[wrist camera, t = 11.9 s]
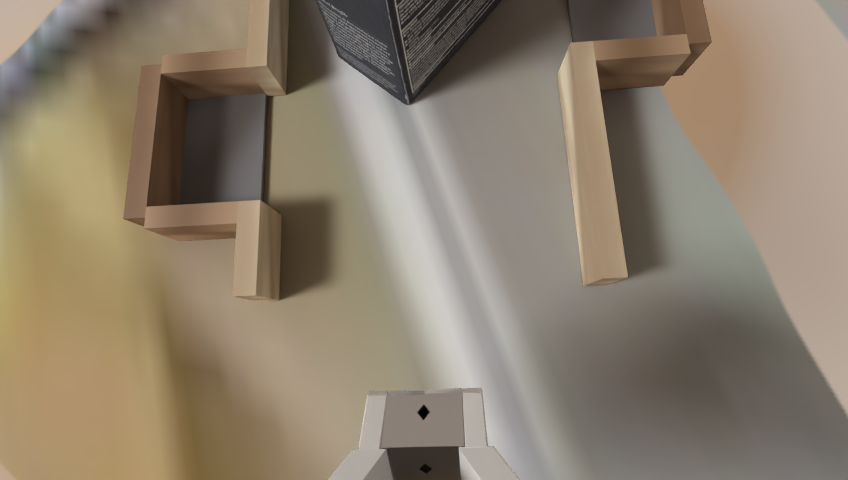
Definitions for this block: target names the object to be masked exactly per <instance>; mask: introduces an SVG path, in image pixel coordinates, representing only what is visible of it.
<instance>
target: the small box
mask: <svg viewBox="0 0 848 480" xmlns="http://www.w3.org/2000/svg"><path fill="white" fill-rule="evenodd" d="M500 1H501V0H316V2H317V4H318V7H319V10H320V12H321V14H322V17H323V19H324V21H325V24H326V26H327V29H328V31H329V34H330V36H331V38H332V41H333V43H334V46H335V48H336V51H337V54H338V56H339V57H340V58H341V59H343V60H344V61H345V62H347V63H348V64H349V65H351V66H352V67H353V68H355V69H356V70H358V71H359V72H360V73H362V74H363V75H365V76H366V77H367V78H369V79H370V80H372V81H373V82H374V83H376V84H377V85H379V86H380V87H382V88H383V89H384V90H386V91H387V92H389V93H390V94H391V95H393V96H394V97H395V98H397V99H398V100H400V101H401V102H402V103H404V104H406V105H409V104H411V103H412V101H413V100H414V99H415V98H416V97H417V96H418V95H419V93H420V92H421V91H422V90H423V89H424V88H425V87H426V86H427V84H428V83H429V82H430V81H431V80H432V79H433V78H434V76H435V75H436V74H437V73H438V72H439V71H440V70H441V68H442V67H443V66H444V65H445V64H446V63H447V62H448V61H449V59H450V58H451V57H452V56H453V55H454V54H455V52H456V51H457V50H458V49H459V48H460V47H461V46H462V45H463V43H464V42H465V41H466V40H467V39H468V38H469V36H470V35H471V34H472V33H473V32H474V31H475V30H476V28H477V27H478V26H479V25H480V24H481V23H482V22H483V21H484V19H485V18H486V17H487V16H488V15H489V14H490V13H491V11H492V10H493V9H494V8H495V7H496V6H497V4H498V3H499V2H500Z"/></svg>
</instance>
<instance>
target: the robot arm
mask: <svg viewBox="0 0 848 480" xmlns="http://www.w3.org/2000/svg"><path fill="white" fill-rule="evenodd" d="M462 399H463V400H462ZM463 416H464V417H463ZM328 480H519V478H518V477H517V476H516V475H515V473H514V472H513V471H512V469H511V468H510V467H509V466H508V464H507V463H506V462H505V460H504V459H503V458H502V457H501V455H500V454H499V453H498V451H497V450H496V449H495V448H494V446H488V443H487V433H486V423H485V413H484V403H483V394H482V389H481V388H467V389H462V388H454V389H433V390H425V391H370V392H369V394H368V396H367V401H366V407H365V412H364V418H363V424H362V430H361V436H360V442H359V448H358V449H354V450H352V451H351V452H350V453H349V455H348V456H347V457H346V458H345V459H344V461H343V462H342V463H341V464H340V466H339V467H338V468H337V469H336V470H335V472H334V473H333V474H332V475H331V476H330V478H329V479H328Z"/></svg>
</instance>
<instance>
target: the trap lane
mask: <svg viewBox="0 0 848 480" xmlns="http://www.w3.org/2000/svg"><path fill="white" fill-rule="evenodd" d="M567 5H568V12H569V19H570V27H571V34H572V41H573V43H570V45H569V47H568V50H567V52H566V55H565V57H564V60H563V62H562V65H561V67H560V70H559V72H558V75H557V78H558V86H559V94H560V102H561V110H562V118H563V126H564V134H565V142H566V150H567V158H568V166H569V173H570V181H571V189H572V197H573V205H574V213H575V221H576V229H577V237H578V245H579V253H580V261H581V269H582V277H583V285H584V286H593V285H607V284H610V283H613V282H616V281H619V280H621V279H624V278H627V277H628V274H627V267H626V261H625V254H624V247H623V241H622V234H621V227H620V221H619V214H618V207H617V201H616V194H615V187H614V180H613V174H612V167H611V160H610V154H609V147H608V140H607V134H606V127H605V120H604V114H603V107H602V100H601V93H600V90H607V89H621V88H635V87H650V86H664V85H665V83H666V82H667V81H668V80H669V79H670V77H671V76H679V75H683V74H684V73H685V72H686V70H687V69H688V68H689V67H690V66H691V65H692V64H693V63H694V61H695V60H696V59H697V58H698V57H699V56H700V55H701V53H702V52H703V51H704V50H705V49H706V48H707V47H708V46H709V44H710V43H711V37H710V32H709V28H708V23H707V19H706V14H705V10H704V5H703V0H567ZM288 27H289V0H250V5H249V22H248V39H247V49H237V50H224V51H211V52H199V53H186V54H173V55H163V58H162V64H160V65H147V66H142V68H141V76H140V84H139V93H138V101H137V109H136V118H135V126H134V134H133V142H132V151H131V159H130V167H129V176H128V184H127V192H126V200H125V209H124V217H123V219H125V220H128V221H131V222H133V223H136V224H139V225H141V226H144V229H147V230H149V231H152V232H155V233H158V234H161V235H163V236H166V237H169V238H172V239H174V240H177V241H190V240H208V239H226V238H236V243H235V260H234V277H233V294H232V296H233V297H238V298H243V299H248V300H253V301H279V289H280V260H281V231H282V215H280V214H279V213H278V212H276V211H275V210H273V209H272V208H271V207H269V206H268V205H267V204H265V203H264V202H263V188H264V166H265V144H266V122H267V100H268V96H276V95H286V85H287V56H288Z"/></svg>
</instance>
